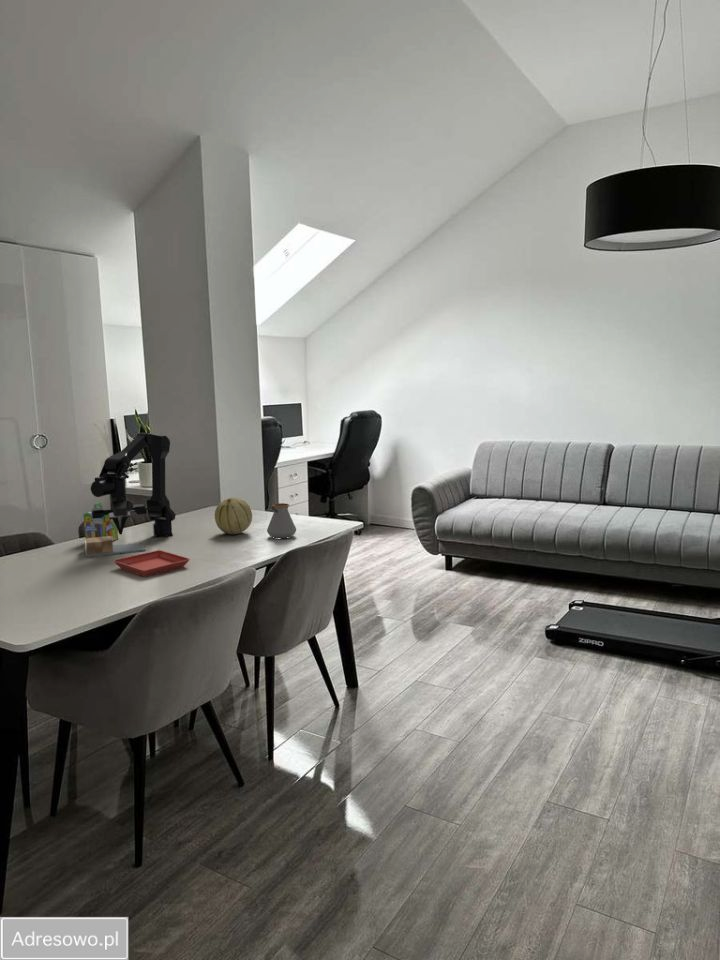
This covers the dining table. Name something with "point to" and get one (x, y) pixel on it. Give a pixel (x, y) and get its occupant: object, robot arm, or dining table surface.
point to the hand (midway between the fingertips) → (120, 534)
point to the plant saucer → (152, 563)
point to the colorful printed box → (99, 526)
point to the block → (98, 545)
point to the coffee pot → (281, 522)
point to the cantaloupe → (233, 516)
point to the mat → (121, 549)
